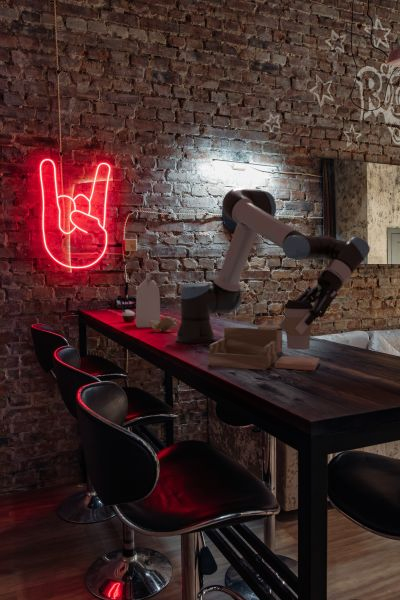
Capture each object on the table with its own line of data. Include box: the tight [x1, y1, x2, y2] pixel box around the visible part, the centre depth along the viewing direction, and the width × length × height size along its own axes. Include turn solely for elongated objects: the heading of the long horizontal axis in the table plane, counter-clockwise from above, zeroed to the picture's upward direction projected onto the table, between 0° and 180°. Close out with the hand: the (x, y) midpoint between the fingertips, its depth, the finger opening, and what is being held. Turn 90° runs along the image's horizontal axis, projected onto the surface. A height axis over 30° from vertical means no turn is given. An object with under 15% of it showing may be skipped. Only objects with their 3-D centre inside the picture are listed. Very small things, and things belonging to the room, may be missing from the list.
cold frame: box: [208, 326, 278, 371], centre depth 172 cm, size 18×18×10 cm
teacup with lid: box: [257, 318, 283, 354], centre depth 194 cm, size 12×9×12 cm
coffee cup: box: [283, 298, 314, 350], centre depth 167 cm, size 9×9×15 cm
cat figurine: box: [150, 316, 179, 334], centre depth 245 cm, size 8×7×12 cm
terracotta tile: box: [274, 355, 320, 371], centre depth 168 cm, size 12×12×2 cm
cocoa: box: [119, 299, 136, 323], centre depth 282 cm, size 10×6×12 cm, turn 103°
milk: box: [135, 272, 162, 328], centre depth 266 cm, size 12×12×26 cm
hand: (289, 329), depth 166 cm, fingers closed on coffee cup, 9 cm apart
